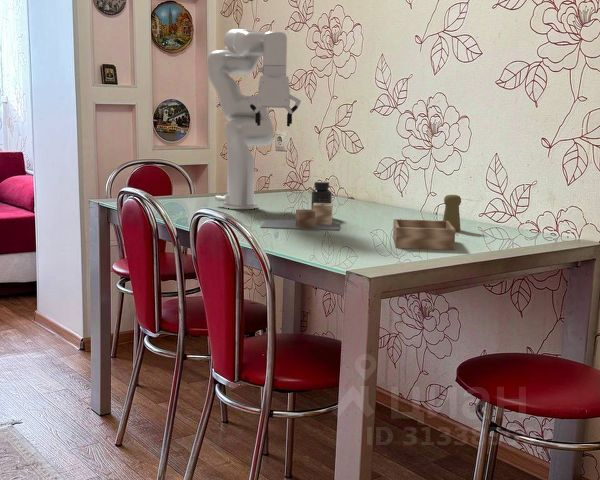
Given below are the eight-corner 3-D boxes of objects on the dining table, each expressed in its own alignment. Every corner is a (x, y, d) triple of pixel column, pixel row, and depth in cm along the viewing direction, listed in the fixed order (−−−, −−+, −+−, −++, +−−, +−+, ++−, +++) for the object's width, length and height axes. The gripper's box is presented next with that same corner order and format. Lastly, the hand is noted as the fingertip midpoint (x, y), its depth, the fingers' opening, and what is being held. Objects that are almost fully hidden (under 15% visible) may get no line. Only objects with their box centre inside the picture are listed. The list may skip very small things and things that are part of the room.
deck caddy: (395, 247, 209) (396, 227, 208) (392, 237, 224) (393, 219, 223) (454, 249, 208) (455, 229, 207) (447, 239, 223) (448, 220, 222)
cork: (461, 229, 243) (464, 194, 241) (459, 232, 237) (461, 196, 235) (442, 228, 245) (444, 193, 243) (439, 230, 239) (441, 195, 237)
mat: (260, 227, 237) (260, 226, 237) (266, 220, 253) (266, 219, 253) (339, 230, 235) (339, 229, 235) (340, 222, 251) (340, 221, 251)
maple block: (331, 205, 243) (331, 224, 244) (332, 203, 249) (332, 222, 250) (312, 205, 243) (312, 224, 244) (313, 202, 249) (313, 221, 250)
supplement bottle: (334, 217, 262) (335, 182, 260) (326, 220, 256) (327, 183, 254) (315, 215, 265) (316, 180, 263) (307, 218, 259) (308, 182, 257)
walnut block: (298, 228, 236) (299, 211, 235) (295, 225, 241) (296, 209, 240) (314, 228, 237) (315, 211, 236) (311, 225, 242) (311, 209, 241)
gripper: (246, 70, 245) (245, 125, 248) (300, 71, 244) (299, 127, 247) (249, 71, 252) (248, 124, 255) (302, 72, 251) (301, 126, 254)
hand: (273, 125), depth 251 cm, fingers open, 9 cm apart
